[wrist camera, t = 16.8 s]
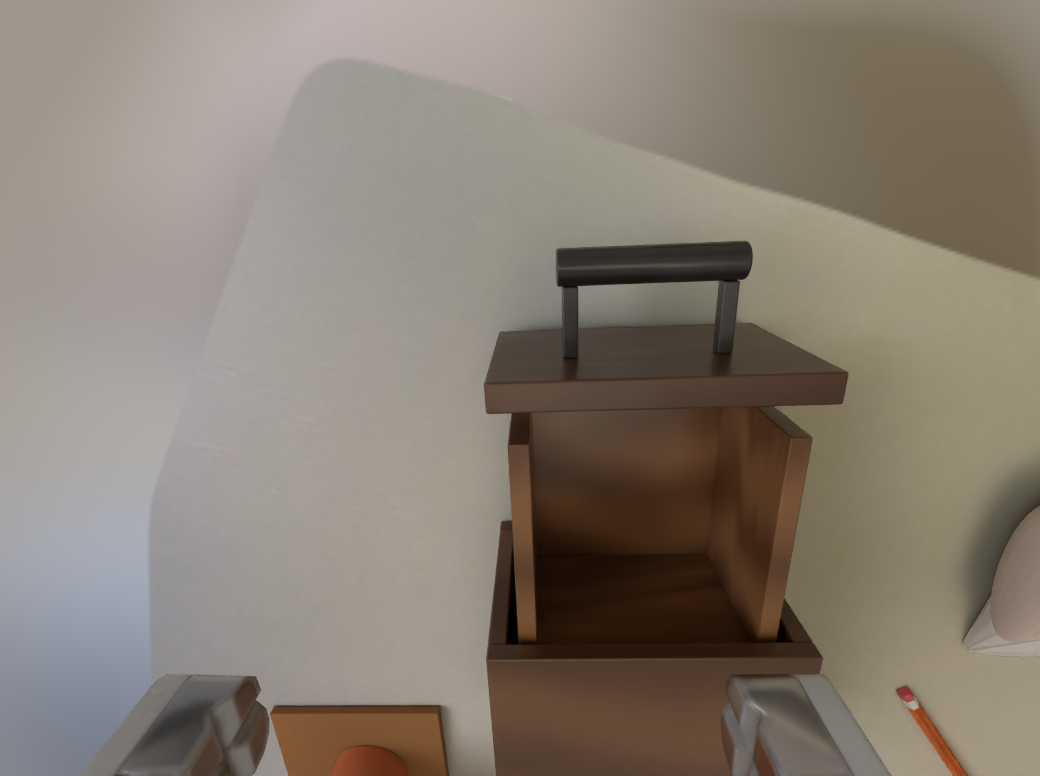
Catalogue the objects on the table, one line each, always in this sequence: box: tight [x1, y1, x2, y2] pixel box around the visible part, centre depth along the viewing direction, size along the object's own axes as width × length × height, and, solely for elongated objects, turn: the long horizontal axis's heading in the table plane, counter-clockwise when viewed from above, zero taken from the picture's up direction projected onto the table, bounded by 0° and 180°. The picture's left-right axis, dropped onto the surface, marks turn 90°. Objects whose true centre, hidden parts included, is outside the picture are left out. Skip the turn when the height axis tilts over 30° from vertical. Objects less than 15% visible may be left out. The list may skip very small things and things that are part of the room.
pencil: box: [897, 686, 968, 776], centre depth 35 cm, size 1×18×1 cm, turn 37°
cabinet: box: [486, 521, 823, 776], centre depth 27 cm, size 15×14×10 cm
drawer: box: [484, 241, 848, 645], centre depth 22 cm, size 18×12×8 cm
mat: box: [270, 706, 449, 776], centre depth 36 cm, size 12×12×1 cm
